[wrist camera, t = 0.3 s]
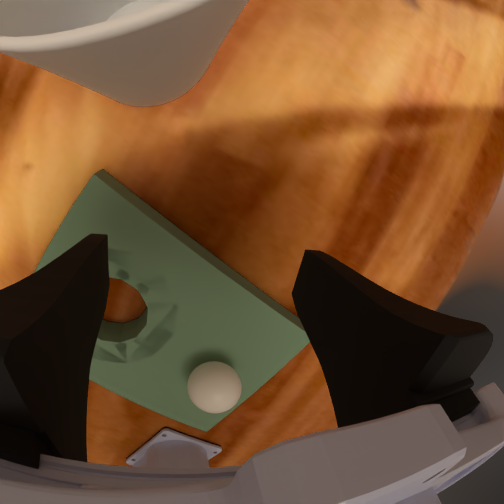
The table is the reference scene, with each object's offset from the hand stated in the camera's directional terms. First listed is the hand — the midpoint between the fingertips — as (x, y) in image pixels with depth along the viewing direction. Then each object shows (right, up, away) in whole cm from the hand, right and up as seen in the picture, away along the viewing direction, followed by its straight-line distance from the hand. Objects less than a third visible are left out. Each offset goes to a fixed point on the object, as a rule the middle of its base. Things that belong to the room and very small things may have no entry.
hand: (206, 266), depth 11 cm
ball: (-1, -9, +11) cm, 14 cm away
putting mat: (-6, -5, +13) cm, 15 cm away
